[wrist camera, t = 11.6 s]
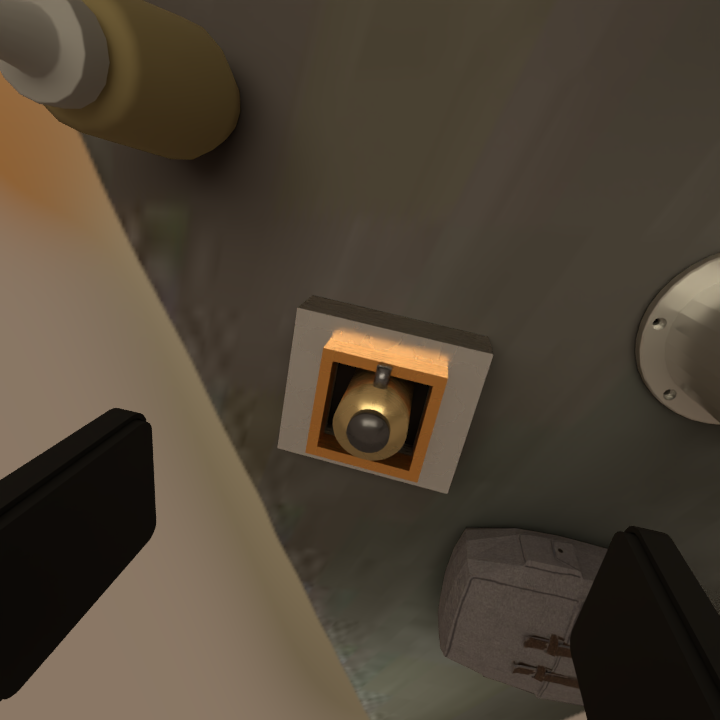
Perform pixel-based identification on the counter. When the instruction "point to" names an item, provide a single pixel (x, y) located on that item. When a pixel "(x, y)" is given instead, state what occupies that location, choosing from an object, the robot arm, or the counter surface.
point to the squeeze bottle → (121, 72)
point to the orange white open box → (408, 361)
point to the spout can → (374, 414)
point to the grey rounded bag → (517, 607)
